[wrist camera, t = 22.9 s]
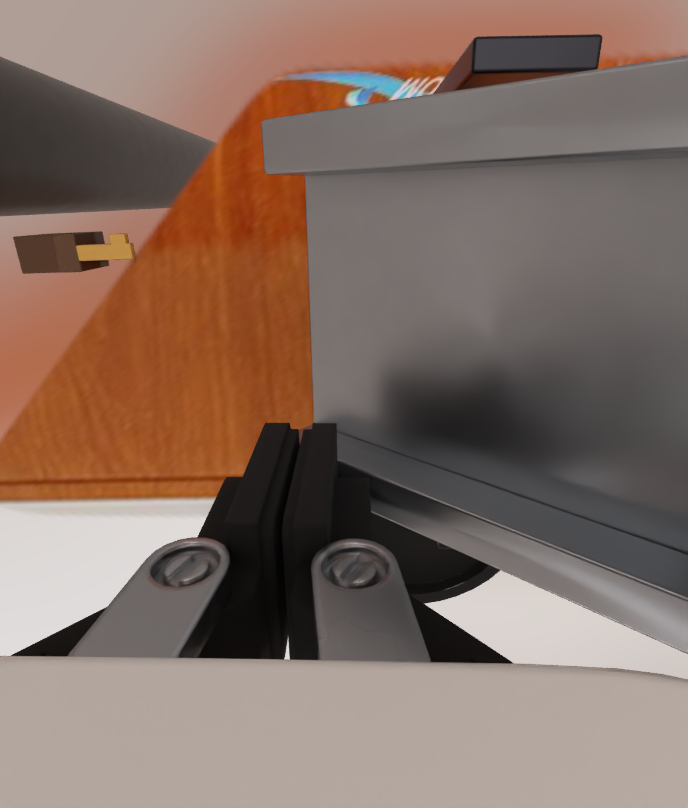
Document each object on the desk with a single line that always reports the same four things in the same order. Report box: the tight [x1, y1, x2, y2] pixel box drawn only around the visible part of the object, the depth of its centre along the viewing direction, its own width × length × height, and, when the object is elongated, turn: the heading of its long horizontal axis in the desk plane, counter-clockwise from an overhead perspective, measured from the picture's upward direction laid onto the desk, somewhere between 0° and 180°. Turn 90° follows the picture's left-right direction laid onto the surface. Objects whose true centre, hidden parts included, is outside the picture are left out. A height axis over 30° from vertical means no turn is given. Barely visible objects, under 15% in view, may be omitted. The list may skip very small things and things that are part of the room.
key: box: [13, 231, 136, 274], centre depth 32 cm, size 8×2×3 cm, turn 93°
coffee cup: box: [371, 512, 500, 603], centre depth 27 cm, size 8×8×15 cm
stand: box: [434, 34, 602, 549], centre depth 20 cm, size 6×10×22 cm, turn 1°
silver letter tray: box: [262, 56, 688, 654], centre depth 9 cm, size 10×8×2 cm
